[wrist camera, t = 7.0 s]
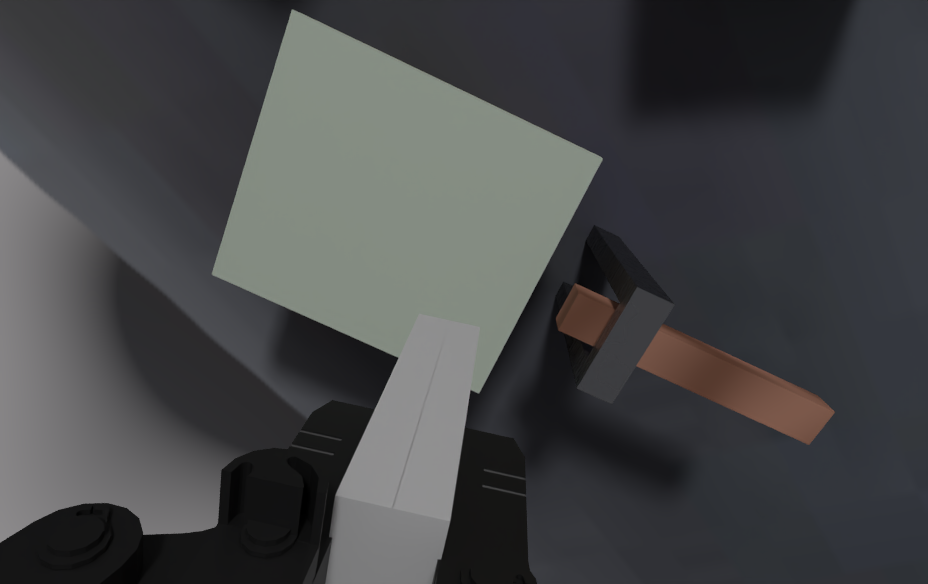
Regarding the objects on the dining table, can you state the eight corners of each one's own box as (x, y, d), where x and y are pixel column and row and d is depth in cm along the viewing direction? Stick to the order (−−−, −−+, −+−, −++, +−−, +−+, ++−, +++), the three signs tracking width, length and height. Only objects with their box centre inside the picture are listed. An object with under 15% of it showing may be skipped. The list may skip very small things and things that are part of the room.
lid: (238, 259, 28) (211, 274, 25) (314, 19, 24) (292, 9, 21) (481, 369, 29) (478, 393, 26) (594, 153, 25) (603, 158, 22)
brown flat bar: (555, 318, 24) (558, 330, 23) (575, 283, 24) (578, 293, 22) (793, 426, 25) (809, 444, 24) (817, 395, 24) (835, 412, 23)
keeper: (555, 296, 33) (576, 388, 22) (594, 225, 32) (637, 287, 21) (579, 306, 33) (611, 404, 22) (619, 237, 32) (674, 304, 21)
